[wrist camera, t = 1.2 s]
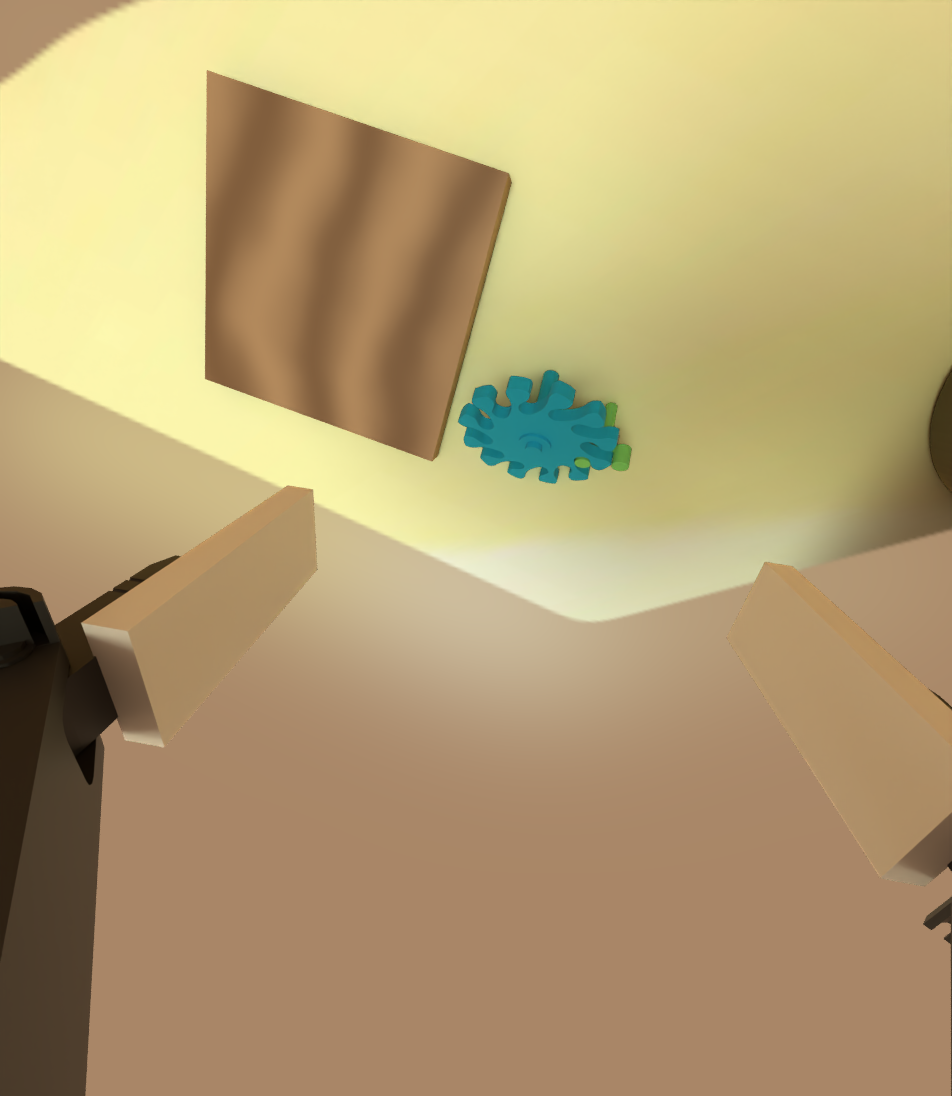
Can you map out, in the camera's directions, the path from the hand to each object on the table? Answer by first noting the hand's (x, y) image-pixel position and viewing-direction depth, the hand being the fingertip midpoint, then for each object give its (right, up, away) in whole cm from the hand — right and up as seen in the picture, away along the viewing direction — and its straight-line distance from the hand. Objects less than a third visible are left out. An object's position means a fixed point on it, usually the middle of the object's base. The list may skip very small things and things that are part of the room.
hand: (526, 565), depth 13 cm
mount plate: (-10, +18, +16) cm, 26 cm away
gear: (+4, +9, +18) cm, 20 cm away
